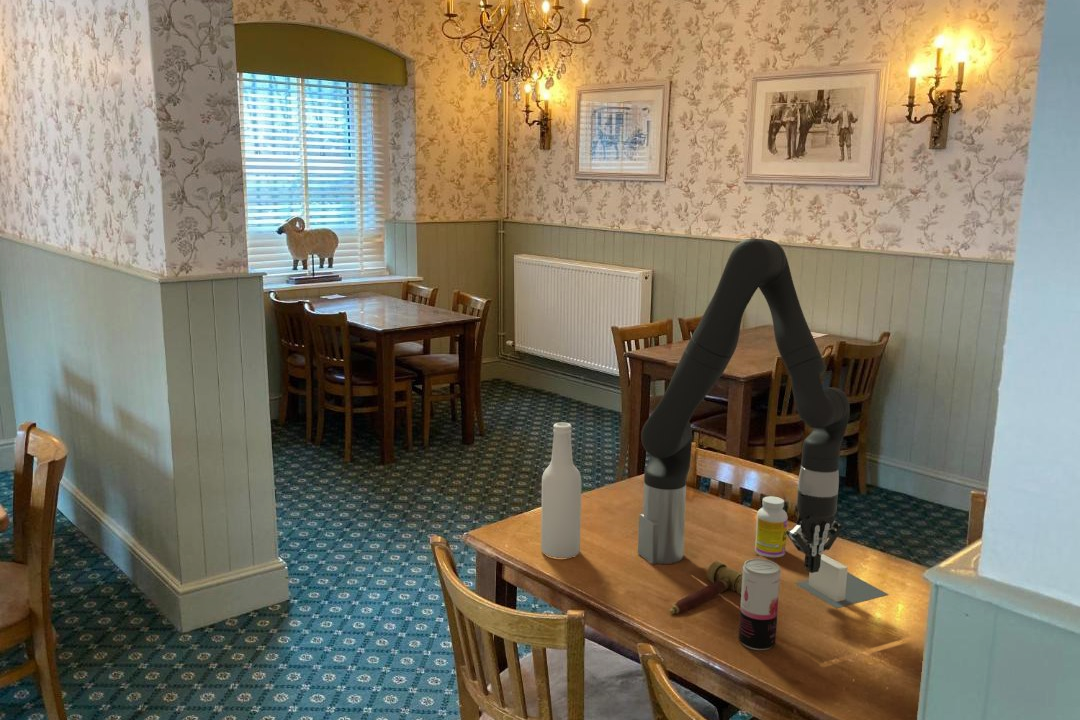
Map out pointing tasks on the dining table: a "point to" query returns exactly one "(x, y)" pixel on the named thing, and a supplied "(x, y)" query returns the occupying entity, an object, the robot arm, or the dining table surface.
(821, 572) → the tile
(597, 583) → the dining table surface
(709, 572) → the gavel
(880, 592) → the mat
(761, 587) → the beverage can
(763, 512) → the supplement bottle
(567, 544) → the alcohol
